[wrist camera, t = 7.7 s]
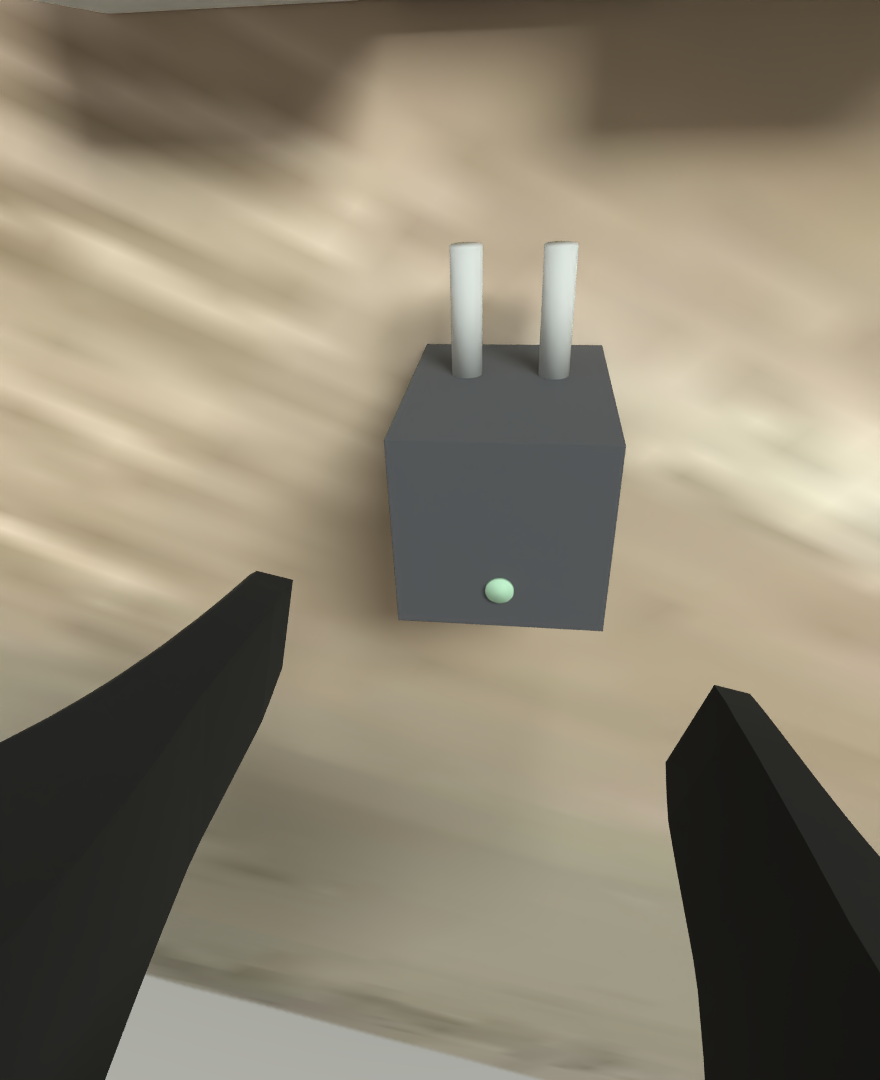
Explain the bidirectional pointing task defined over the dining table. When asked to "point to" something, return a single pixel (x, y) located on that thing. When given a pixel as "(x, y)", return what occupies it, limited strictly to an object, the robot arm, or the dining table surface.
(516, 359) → the charger
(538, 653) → the dining table surface
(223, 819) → the dining table surface
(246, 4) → the power strip
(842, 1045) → the robot arm
